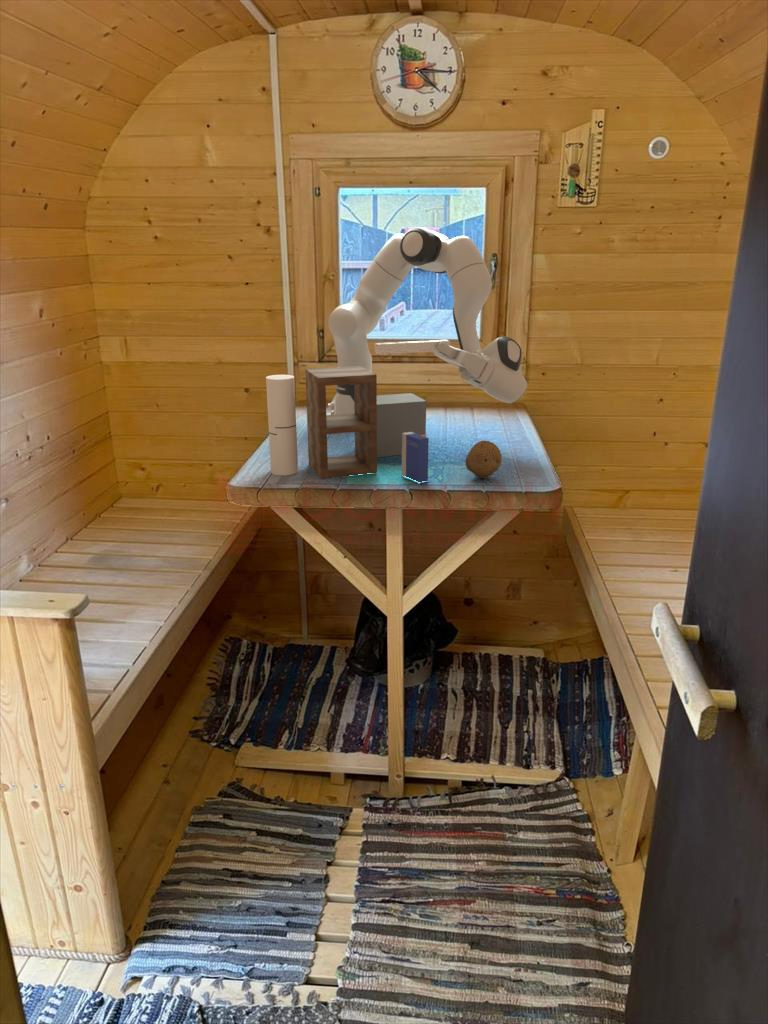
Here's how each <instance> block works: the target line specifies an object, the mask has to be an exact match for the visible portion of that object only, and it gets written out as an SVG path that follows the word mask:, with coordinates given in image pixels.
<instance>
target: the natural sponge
mask: <svg viewBox="0 0 768 1024" xmlns="http://www.w3.org/2000/svg"><path fill="white" fill-rule="evenodd" d="M502 457H503V456H502V451H501V450H500V448H499V447H498V446H497V444H496V443H494V442H491V441H489V440H481V441H479V442H476V443H475V444H473V446H472V447H471V448H470V450H469V452H468V454H467V456H466V458H465V462H464V463H465V467H466V469H467V470H468V471H469V472H471V473H472V474H473V475H475V476H476V477H477V478H480V479H482V478H483V479H484V478H485V479H488V478H489V477H491V476H493V474H495V472H497V471H498V470H499V468H500V467H501V465H502V462H503V458H502ZM483 479H482V480H483Z"/></svg>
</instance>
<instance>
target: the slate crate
mask: <svg viewBox="0 0 768 1024" xmlns="http://www.w3.org/2000/svg"><path fill="white" fill-rule="evenodd" d="M426 426H427V401H426V399H424V398H421V397H419V396H418V395H416V394H414V393H412V392H409V393H395V394H394V393H393V394H380V395H379V394H378V395H377V458H381V457H382V458H383V456H385V457H392V456H393V457H394V455H395V456H402V433H406V432H413V433H416V434H419V435H425V436H426V437H427V435H426V434H427V432H426V431H427V427H426Z"/></svg>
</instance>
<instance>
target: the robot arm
mask: <svg viewBox="0 0 768 1024" xmlns="http://www.w3.org/2000/svg"><path fill="white" fill-rule="evenodd" d="M415 267H417V268H418V269H421V270H423V271H427V272H428V271H429V272H432V273H435V274H447V276H448V277H447V278H448V279H449V282H450V284H451V289H452V294H453V308H452V318H453V322H454V328H455V331H456V336H457V340H458V343H459V348H457V347H454V346H451V345H450V347H448V346H446V345H444V344H442V343H438V344H437V346H436V349H438V350H440V351H438V352H433V355H435V356H436V357H437V358H439V359H440V360H443V361H445V362H446V363H448V364H450V365H453V366H455V367H457V368H458V372H459V374H460V378H461V380H462V381H464V382H466V383H468V384H469V385H471V386H473V387H474V388H477V389H481V390H483V391H484V392H485V393H486V394H487V395H489V396H490V397H492V398H494V399H495V400H498V401H500V402H502V403H504V404H505V403H506V404H512V403H513V404H514V403H515V402H517V401H518V400H520V399H521V398H522V397H523V395H524V394H525V392H526V390H527V388H528V382H527V380H526V378H525V377H524V374H523V373H522V366H521V361H522V355H523V353H522V348H521V346H520V344H519V343H518V342H517V341H516V340H514V339H513V338H511V337H510V336H507V335H501V336H499V337H497V338H495V339H494V340H493V341H492V340H491V342H490V343H488V344H487V345H486V346H485V347H483V348H481V345H480V344H481V343H480V339H479V335H478V331H477V320H478V317H479V314H480V313H481V310H482V308H483V307H484V305H485V303H487V301H488V298H489V296H490V294H491V293H492V292H491V291H492V287H493V285H492V278H491V274H490V271H489V269H488V266H487V263H486V261H485V260H484V258H483V255H482V253H481V252H480V249H479V248H478V246H477V245H476V244H475V242H474V241H473V239H472V238H470V237H469V236H466V235H460V236H456V237H453V238H450V237H448V236H446V235H445V234H443V233H440V232H439V231H434V230H432V229H431V230H430V229H428V228H426V227H422V226H418V227H417V226H416V227H411V228H410V229H408V230H407V231H405V233H396V234H394V235H392V237H390V239H388V240H387V241H386V242H385V244H384V245H383V246H382V248H380V250H379V251H378V252H377V254H376V255H375V257H374V258H373V259H372V261H371V262H370V264H369V266H368V267H367V269H366V270H365V272H364V273H363V275H362V276H361V277H360V279H359V284H358V286H357V289H356V290H355V293H354V295H353V297H352V299H351V300H349V301H348V303H344V304H340V305H338V306H336V308H334V310H333V311H332V312H331V313H330V315H329V317H328V321H327V322H328V324H327V325H328V329H329V332H330V334H332V338H333V342H334V346H335V352H336V357H337V367H350V366H361V367H363V368H365V369H367V370H369V371H371V372H373V357H372V354H371V352H370V349H369V344H368V338H367V335H369V334H371V333H372V332H373V331H374V330H375V329H376V327H377V325H378V323H379V322H380V320H381V317H382V316H383V315H384V312H385V310H386V308H387V306H388V304H389V303H390V301H391V300H392V298H393V297H394V295H395V294H396V292H397V290H398V289H399V287H400V286H401V285H402V283H403V282H404V281H405V279H406V277H407V276H408V275H409V273H410V272H411V271H412V270H413V269H414V268H415ZM335 388H336V391H335V392H336V394H335V395H334V397H333V399H332V401H331V402H328V403H327V410H328V411H330V412H329V413H326V415H337V414H351V413H355V409H354V384H345V385H335Z"/></svg>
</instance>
